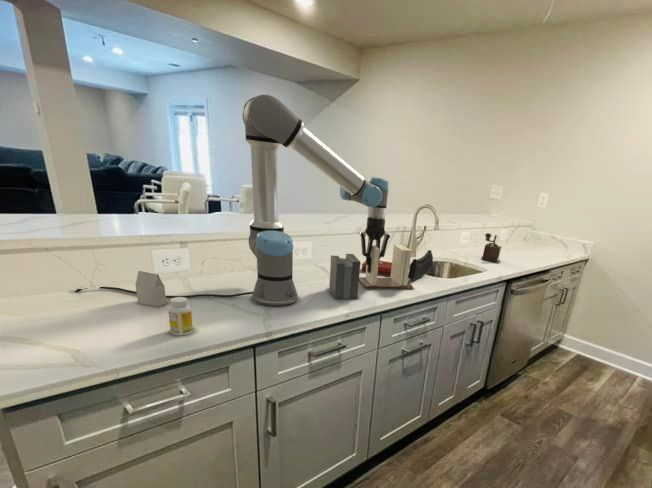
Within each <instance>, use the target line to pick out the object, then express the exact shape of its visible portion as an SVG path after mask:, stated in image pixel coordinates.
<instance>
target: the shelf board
mask: <svg viewBox="0 0 652 488" xmlns="http://www.w3.org/2000/svg"><path fill="white" fill-rule="evenodd" d="M365 277H366V276H359V283H360V284H361V285H362V287H363V288H364V289H365V290H413V289H414V287H413V285H412V284H411V283H409V281H407V286H403V285H402V286H398V285H397V284H396V283H395V282H394V281H393V280H392V279H390V277H377V284H376V286H374V285H371V284H370V283H369V281H368V280H367V279H366V278H365Z"/></svg>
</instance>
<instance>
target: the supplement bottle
mask: <svg viewBox="0 0 652 488" xmlns="http://www.w3.org/2000/svg"><path fill="white" fill-rule="evenodd" d="M169 301H170V302H169V304H170V306H169V307H168V309H167V310H168V320H169V328H170V329H169V330H170V333H171V334H173V335H174V336H185V335H189V334H192V333H193V332H194V325H193V314H192V313H193V312H192V308H191V305H189V300H188V298H185V297H175V298H170V300H169Z"/></svg>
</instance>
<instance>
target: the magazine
mask: <svg viewBox="0 0 652 488" xmlns="http://www.w3.org/2000/svg"><path fill="white" fill-rule="evenodd" d="M432 252H433V251H432V250H431V249H428V250H427V252H426V253H425V254H424V255H423V256H422V257H420V258H413V259H412V261H411V262H410V266H409V273H408V280H417V279H420V278H422V277H423V276H425V274H427V273H428V271H429V270H430V269H431V268H432V267H433V262H434V261H433V260H434V258H433V253H432Z"/></svg>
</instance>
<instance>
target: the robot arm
mask: <svg viewBox="0 0 652 488" xmlns="http://www.w3.org/2000/svg"><path fill="white" fill-rule="evenodd" d="M241 112H242V113H241V115H242V116H241V117H242V122H243V125H244V134H245V142H247V144H249V146H250V156H251V157H250V158H251V179H252V180H251V181H252V202H253V203H252V206H253V219H252V221H251V222H250V223H249V236H248V247H249V249H250V251H251V252H252V254H253V255H254V256H255V258H256V267H257V268H256V269H257V270H256V272H257V277H256V278H257V279H256V282H255V284H254V288H253V291H246V292H241V293H235V294H234V293H233V294H216V293H215V294H214V293H200V294H190V295H189V294H188V295H187V294H186V295H166V299H172V298H175V297H185V298H187V299H190V298H200V297H201V298H202V297H215V298H216V297H217V298H234V297H235V298H236V297H239V296H248V295H252V300H253V302H254V303H256V304H259V305H261V306H268V307H284V306H291V305H293V304H296V302H297V301H298V297H299V296H298V295H299V294H298V291H297V289H296V285H295V282H294V279H293V272H294V271H293V265H294V263H293V262H294V259H293V257H294V256H293V255H294V251H293V250H294V243H293V238H292V237H291V235H289V233H286V232H285V231H284V228H285V227H284V224H283V222H281V221H280V191H279V185H280V183H279V149H281V147H282V146H283V147H285V148H286V149H287V148H290V149H292V150H294V152H296V153H297V154H299V155H300V156H301V157H302V158H303V159H305V160H306V161H307V162H308V163H310V164H311V165H312V166H313V167H315V168H317V169H318V170H319V171H320V172H322V173H323V174H324V175H325V176H326V177H328V178H329V179H331V181H332V182H334V183H336V184H337V185H338V186H339V195H340V199H342V200H343V201H348V202H350V201H352V202H356V203H359V204H361V205H364V206H366V207H367V218H366V228H365V229H364V231H362V232H361V231H360V232H359V236H360V244H361V245H360V246H361V255H362V256H363V257H365V261H366V265H368V266H367V272H368V273H370V270H371V259H372V258H371V257H370V254H371V249H372V243H373V244H374V241H375V246H377V247H378V248H379V249H380V253H379V261H381V258H384V257H385V254H386V250H387V245H388V241H389V239H390V238H391V235H390V234H389V233H387V232H386V229H385V228H386V227H385V226H386V219H385V218H386V217H387V216H386V215H387V206H388V195H389V180H388V179H387V178H383V177H376V176H375V177H374V176H371V177H370V178H369V181H368V180H367V178H364V176H363V175H361V174H360V173H359V172H358V171H357V170H355V169H354V168H353V167H352V166H351V165H349V164H348V163H347V162H346V161H344V159H343V158H341V157H340V156H339V155H338V154H336V153H335V152H334V151H333V150H332V149H330V148H329V147H328V146H327V145H326V144H325V143H324V142H323V141H321V140H320V139H319V138H318V137H317V136H315V135H314V134H313V133H312V132H311V131H310V130H308V129H307V128H306V127H305V124H304V122H303V120H301V119H300V118H299V117H298V116H297V115H296V114H295V113H294V112H293V111H292V110H290V108H288V107H287V106H286V105H285V103H283V102H282V101H281V100H280V99H278V98H277V97H275V96H272V95H269V94H259V95H257V96H254V97H252V98H249V99H248V100H247V101H246V102H245V104H244V105H243V108H242V111H241ZM366 237H368V241H367V243H366ZM382 238H383V239H382ZM381 241H382V244H381ZM366 244H367V245H366ZM366 246H367V247H366ZM378 265H379V264H378ZM86 289H87V288H85V289H79V288H77V289H75V291H74V293H79V292H81V291H82V290H86ZM99 289H100V290H112V291H113V290H114V291H120V292H124V293H129V294H135V295H137V292H136V290H130V289H125V288H121V287H114V286H103V287H100V288H99Z"/></svg>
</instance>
